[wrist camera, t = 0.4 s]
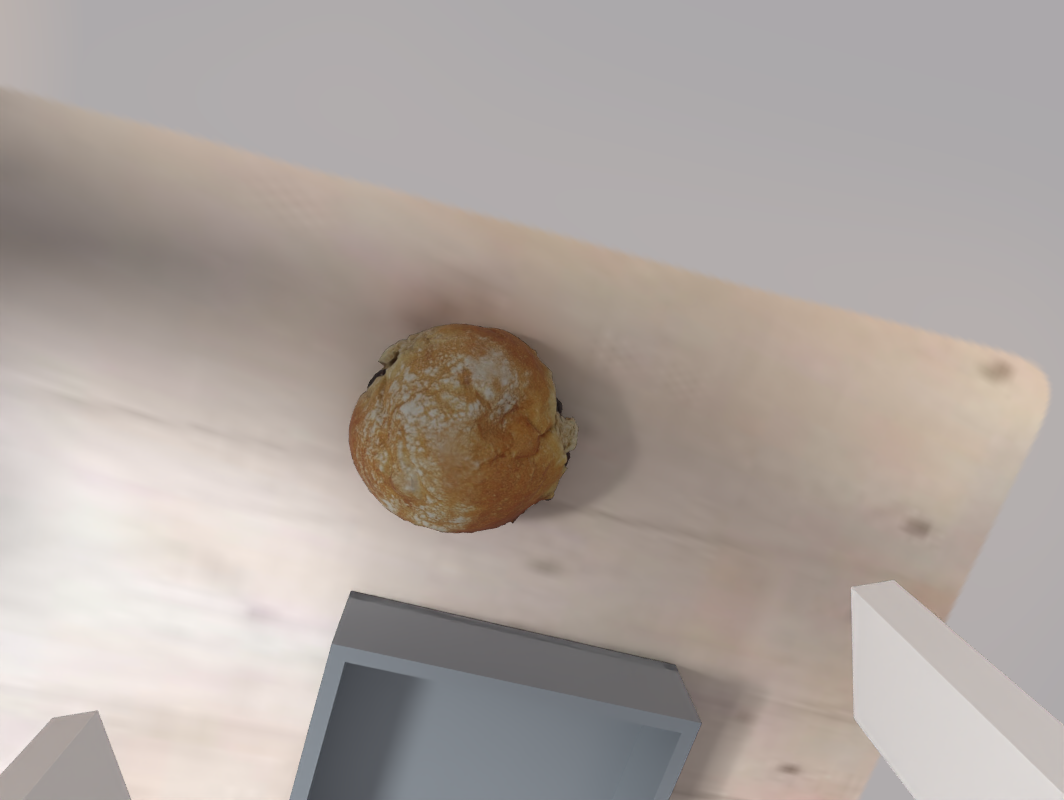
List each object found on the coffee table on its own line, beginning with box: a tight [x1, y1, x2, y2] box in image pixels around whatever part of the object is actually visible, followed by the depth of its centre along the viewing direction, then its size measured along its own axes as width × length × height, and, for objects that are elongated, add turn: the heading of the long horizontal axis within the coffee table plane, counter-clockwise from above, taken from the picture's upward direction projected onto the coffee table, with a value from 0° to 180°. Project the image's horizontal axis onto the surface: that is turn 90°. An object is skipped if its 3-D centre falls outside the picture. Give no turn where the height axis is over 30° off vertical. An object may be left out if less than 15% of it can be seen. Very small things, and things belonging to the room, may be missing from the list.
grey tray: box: [290, 591, 702, 800], centre depth 35 cm, size 19×19×4 cm
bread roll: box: [349, 324, 579, 533], centre depth 30 cm, size 10×10×8 cm
